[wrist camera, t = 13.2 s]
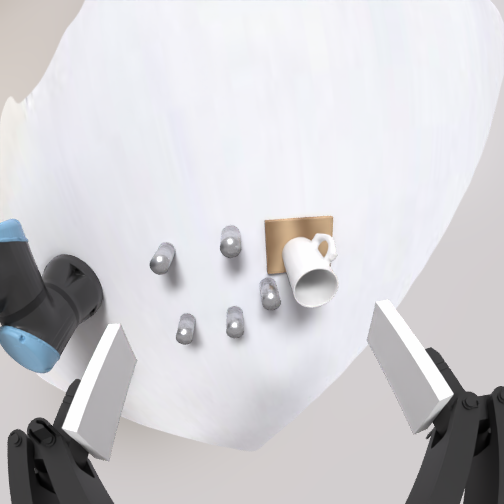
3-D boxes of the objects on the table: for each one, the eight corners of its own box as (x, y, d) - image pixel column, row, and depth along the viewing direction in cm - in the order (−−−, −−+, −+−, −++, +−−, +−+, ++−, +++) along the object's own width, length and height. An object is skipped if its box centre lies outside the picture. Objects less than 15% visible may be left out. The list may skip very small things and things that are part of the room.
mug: (303, 274, 51) (320, 313, 40) (273, 260, 49) (284, 298, 39) (333, 230, 48) (360, 260, 37) (303, 212, 46) (324, 240, 35)
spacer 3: (222, 243, 48) (221, 258, 43) (220, 226, 47) (219, 239, 42) (240, 241, 49) (241, 256, 43) (239, 224, 47) (240, 237, 42)
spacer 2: (182, 325, 56) (177, 344, 50) (178, 313, 55) (174, 332, 49) (196, 324, 56) (193, 344, 51) (193, 313, 55) (190, 332, 49)
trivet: (267, 271, 51) (267, 273, 50) (264, 220, 47) (265, 222, 46) (328, 265, 52) (330, 267, 51) (331, 215, 47) (333, 217, 47)
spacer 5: (260, 292, 53) (262, 311, 48) (259, 278, 52) (262, 296, 47) (276, 290, 53) (280, 309, 48) (275, 276, 52) (280, 294, 47)
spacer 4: (227, 319, 56) (227, 338, 50) (225, 306, 54) (225, 326, 49) (243, 317, 56) (244, 337, 50) (241, 305, 54) (242, 324, 49)
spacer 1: (160, 259, 49) (152, 275, 44) (156, 243, 48) (147, 258, 42) (176, 257, 49) (170, 273, 44) (173, 241, 48) (166, 256, 42)
